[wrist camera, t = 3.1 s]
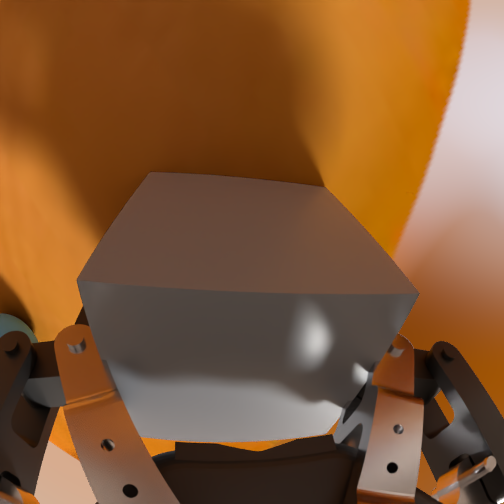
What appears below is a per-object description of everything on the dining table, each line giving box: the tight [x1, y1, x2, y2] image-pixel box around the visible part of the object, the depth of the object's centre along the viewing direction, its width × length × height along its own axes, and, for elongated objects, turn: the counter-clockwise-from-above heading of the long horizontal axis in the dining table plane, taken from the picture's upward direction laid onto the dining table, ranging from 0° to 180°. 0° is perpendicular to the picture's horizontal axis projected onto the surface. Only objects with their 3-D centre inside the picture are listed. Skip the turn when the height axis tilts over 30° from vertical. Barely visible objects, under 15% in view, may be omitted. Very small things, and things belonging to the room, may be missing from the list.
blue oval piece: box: [0, 313, 38, 343], centre depth 11 cm, size 5×5×5 cm
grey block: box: [77, 172, 419, 442], centre depth 9 cm, size 7×7×7 cm
